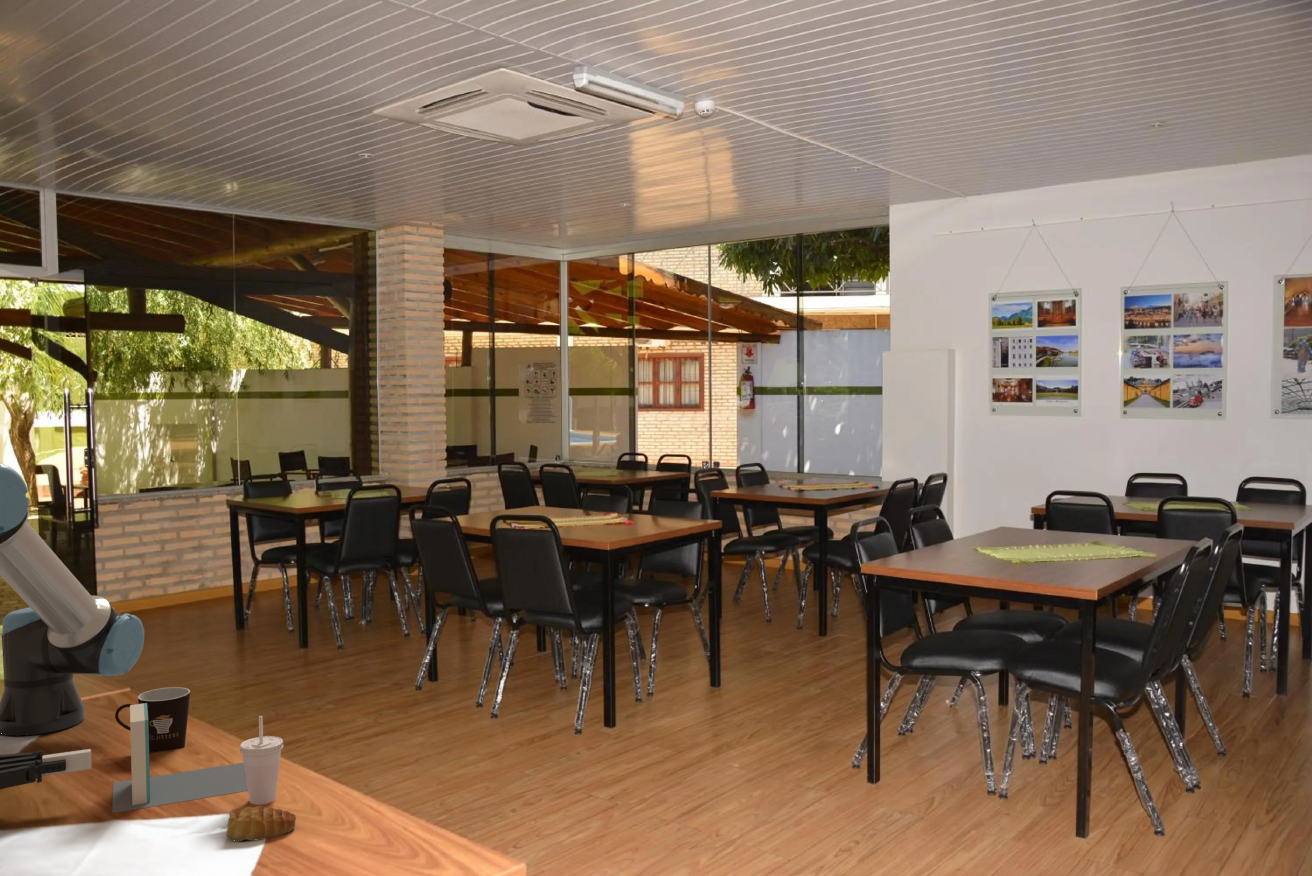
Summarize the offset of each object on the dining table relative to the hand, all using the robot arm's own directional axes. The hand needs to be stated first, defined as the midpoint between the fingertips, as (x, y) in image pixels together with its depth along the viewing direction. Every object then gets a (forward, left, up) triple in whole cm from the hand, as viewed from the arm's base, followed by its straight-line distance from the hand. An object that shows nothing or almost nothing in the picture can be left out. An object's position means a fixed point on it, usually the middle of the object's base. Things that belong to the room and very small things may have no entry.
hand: (90, 758), depth 162 cm
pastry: (+23, +22, -8) cm, 32 cm away
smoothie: (+12, +24, -7) cm, 28 cm away
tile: (0, +7, -7) cm, 10 cm away
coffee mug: (-24, +10, -7) cm, 27 cm away
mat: (0, +13, -7) cm, 15 cm away
